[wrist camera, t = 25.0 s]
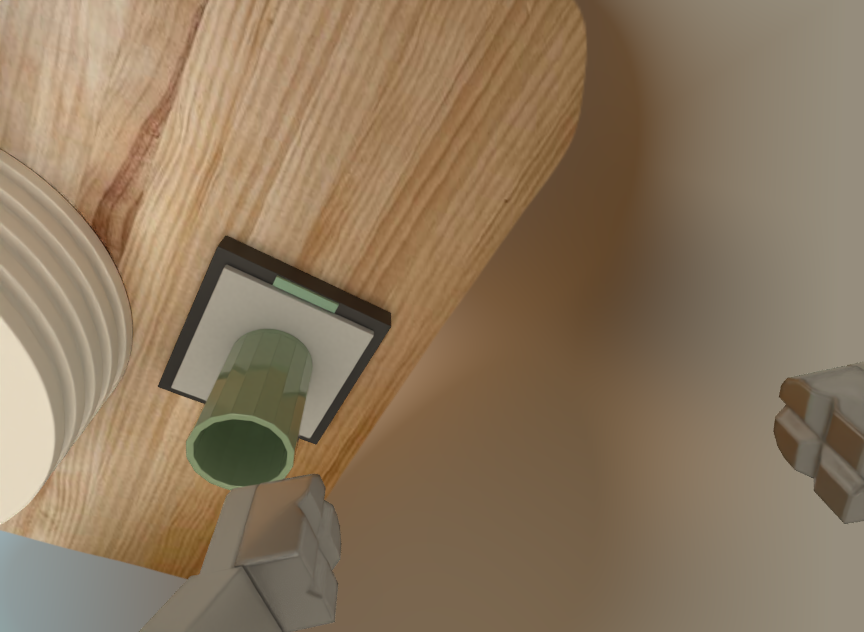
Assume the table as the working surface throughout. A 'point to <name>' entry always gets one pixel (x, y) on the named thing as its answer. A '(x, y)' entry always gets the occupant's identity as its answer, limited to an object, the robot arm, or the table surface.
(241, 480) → the tumbler
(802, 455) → the robot arm
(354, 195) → the table surface
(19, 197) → the plate stack
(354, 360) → the scale
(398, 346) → the table surface
